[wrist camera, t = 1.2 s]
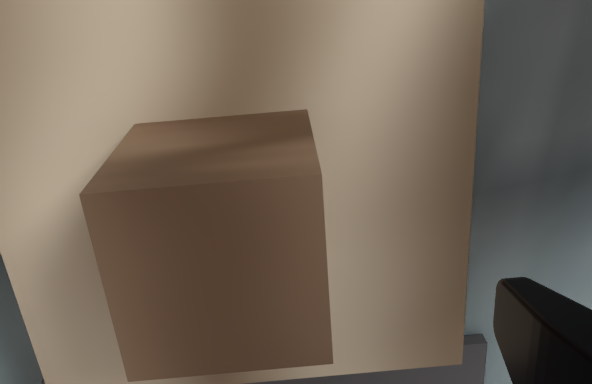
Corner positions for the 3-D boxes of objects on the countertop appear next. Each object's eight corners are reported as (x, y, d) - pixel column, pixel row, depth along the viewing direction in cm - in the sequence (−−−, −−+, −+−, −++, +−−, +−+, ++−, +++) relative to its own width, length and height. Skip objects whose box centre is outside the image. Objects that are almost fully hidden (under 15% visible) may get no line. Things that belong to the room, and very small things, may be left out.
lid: (480, -98, 12) (600, -126, 7) (455, 350, 16) (519, 487, 12) (-85, -51, 11) (-292, -53, 7) (58, 385, 16) (-16, 535, 12)
